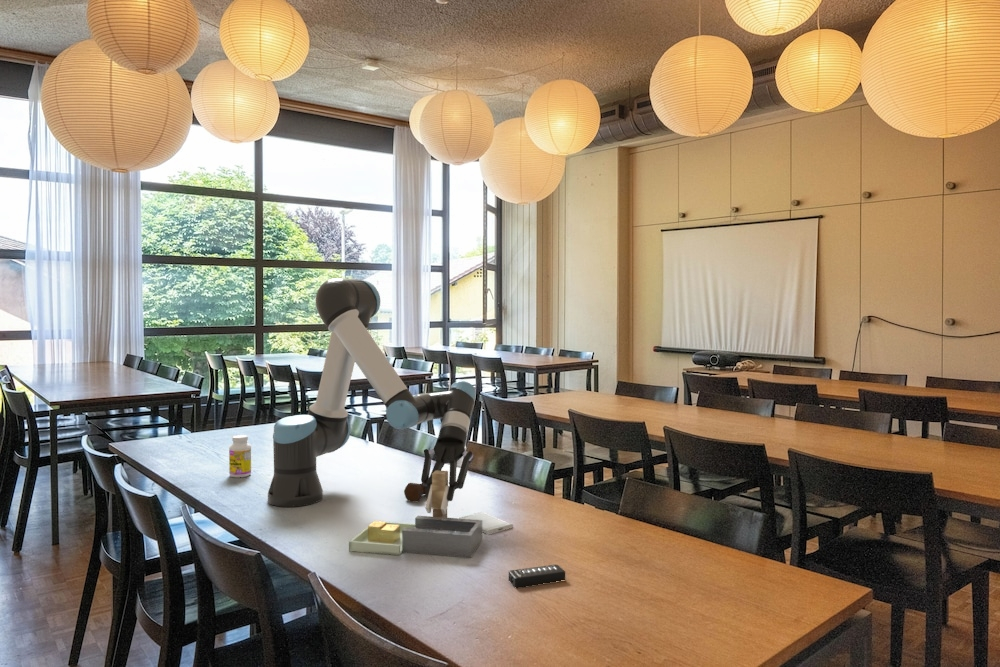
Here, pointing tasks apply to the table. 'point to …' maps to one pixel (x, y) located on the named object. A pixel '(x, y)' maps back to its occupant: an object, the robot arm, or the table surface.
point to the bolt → (414, 491)
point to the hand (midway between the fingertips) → (435, 510)
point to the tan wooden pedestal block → (438, 491)
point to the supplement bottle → (240, 457)
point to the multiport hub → (536, 575)
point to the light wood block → (375, 530)
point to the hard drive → (489, 522)
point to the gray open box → (443, 536)
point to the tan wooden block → (389, 533)
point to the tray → (363, 545)
